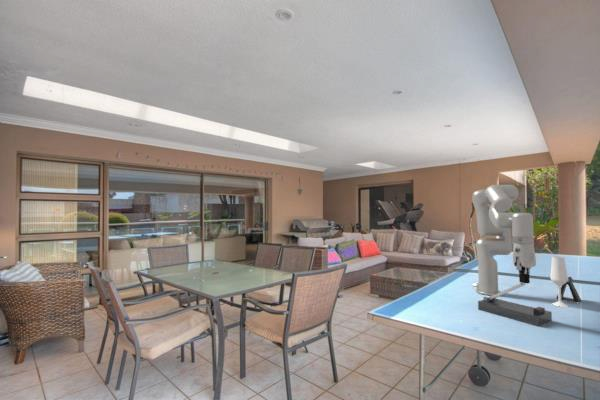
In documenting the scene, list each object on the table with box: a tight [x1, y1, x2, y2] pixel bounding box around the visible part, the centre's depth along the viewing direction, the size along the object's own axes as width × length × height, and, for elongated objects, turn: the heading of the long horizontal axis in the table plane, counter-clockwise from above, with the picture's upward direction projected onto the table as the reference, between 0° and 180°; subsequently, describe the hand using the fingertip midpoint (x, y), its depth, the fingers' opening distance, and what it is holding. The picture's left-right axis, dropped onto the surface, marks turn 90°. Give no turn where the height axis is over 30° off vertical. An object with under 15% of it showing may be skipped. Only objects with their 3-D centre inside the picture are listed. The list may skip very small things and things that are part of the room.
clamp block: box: [477, 295, 553, 328], centre depth 132 cm, size 24×12×6 cm, turn 29°
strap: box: [487, 282, 527, 300], centre depth 135 cm, size 18×4×1 cm
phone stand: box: [555, 275, 582, 303], centre depth 156 cm, size 9×6×12 cm, turn 39°
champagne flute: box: [549, 255, 569, 308], centre depth 147 cm, size 7×7×24 cm
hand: (524, 282), depth 128 cm, fingers closed
